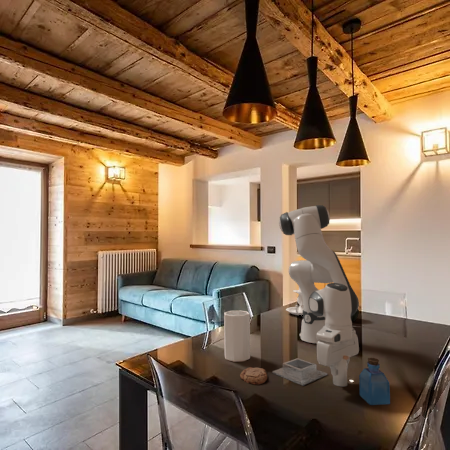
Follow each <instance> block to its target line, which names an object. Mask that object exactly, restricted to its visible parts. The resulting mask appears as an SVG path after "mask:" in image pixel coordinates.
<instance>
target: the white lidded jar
mask: <svg viewBox="0 0 450 450" xmlns="http://www.w3.org/2000/svg"><path fill="white" fill-rule="evenodd" d="M347 359H349V356H343V359H342V360H341V361H340V362H337V363H336V366H335V367H336V369H337V370H338V375H336V376H333V375H332V384H333V385H334V386H337V387H339V388H340V387H347V386H348V370H347Z"/></svg>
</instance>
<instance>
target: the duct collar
mask: <svg viewBox="0 0 450 450" xmlns="http://www.w3.org/2000/svg"><path fill="white" fill-rule="evenodd" d="M272 374H274V375H276V376H279V377H281V378H283V379H286V380H287V381H291V382H293V383H295V384H298V385H301V386H303V387H304V386H306V385H307V384H310V383H313V382H315V381H317V380H319V379H322V378H324V377H326V376H328V372H325V371H322V370H319V369H317V364H316V363H312V362H310V361H307V360H304V359H301V358H295V359H291V360H289V361H285V362H283V363H282V367H281V368H278V369H275V370H272Z"/></svg>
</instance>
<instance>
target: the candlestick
mask: <svg viewBox="0 0 450 450" xmlns="http://www.w3.org/2000/svg"><path fill="white" fill-rule="evenodd" d="M292 292H294V293H297V294H298V296H297V298H296V302H297V304H295V306H292V307H291V306H290V307H287V308H286V309H285V311H287V312H288V313H290V315H291V314H292V315H295V316H299V315H301V316H300V317H303V316H302V315H303V314H302V312H303V296H302V292H301V289H300V287H299V286H298V289H294V290H292ZM298 304H299V305H298Z"/></svg>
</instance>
